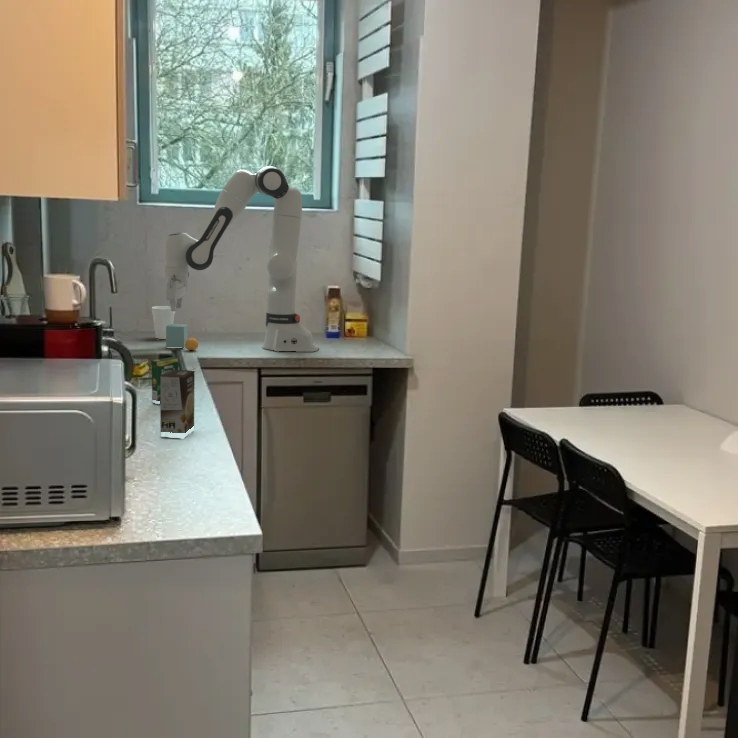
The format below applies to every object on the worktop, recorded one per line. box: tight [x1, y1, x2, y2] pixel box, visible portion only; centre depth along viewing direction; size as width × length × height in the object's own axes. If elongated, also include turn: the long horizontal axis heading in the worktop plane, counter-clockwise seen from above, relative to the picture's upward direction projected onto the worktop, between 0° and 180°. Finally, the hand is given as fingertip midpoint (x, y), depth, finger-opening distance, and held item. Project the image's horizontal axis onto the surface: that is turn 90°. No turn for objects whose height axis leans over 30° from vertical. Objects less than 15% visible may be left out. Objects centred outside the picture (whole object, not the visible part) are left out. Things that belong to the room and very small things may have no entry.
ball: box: [185, 337, 199, 351], centre depth 348 cm, size 5×5×5 cm
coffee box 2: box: [150, 356, 179, 401], centre depth 262 cm, size 8×3×13 cm, turn 139°
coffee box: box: [159, 369, 196, 433], centre depth 228 cm, size 9×6×16 cm
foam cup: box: [151, 305, 176, 340], centre depth 373 cm, size 10×9×13 cm
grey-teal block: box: [165, 323, 189, 348], centre depth 354 cm, size 7×7×9 cm
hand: (176, 309), depth 352 cm, fingers open, 8 cm apart
